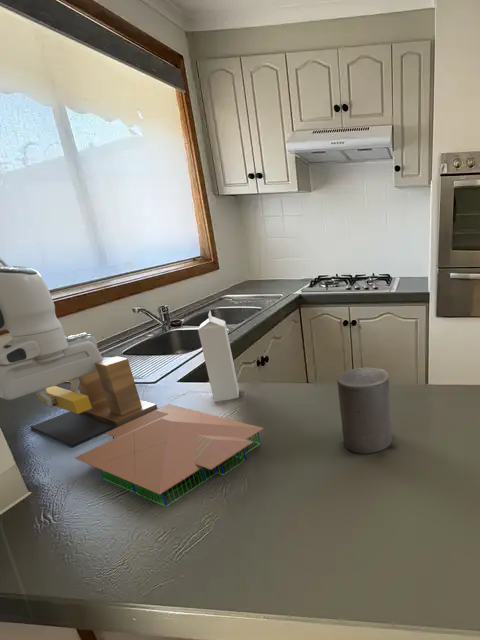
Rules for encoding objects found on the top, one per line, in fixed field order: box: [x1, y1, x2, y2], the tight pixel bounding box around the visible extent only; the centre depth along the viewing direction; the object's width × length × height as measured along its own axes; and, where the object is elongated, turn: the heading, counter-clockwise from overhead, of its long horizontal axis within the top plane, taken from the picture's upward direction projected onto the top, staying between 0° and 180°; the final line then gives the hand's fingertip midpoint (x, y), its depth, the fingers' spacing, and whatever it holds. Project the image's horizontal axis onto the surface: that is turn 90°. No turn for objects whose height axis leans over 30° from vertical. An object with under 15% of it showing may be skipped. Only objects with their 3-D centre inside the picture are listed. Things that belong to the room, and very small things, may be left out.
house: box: [74, 403, 265, 508], centre depth 81 cm, size 23×33×8 cm
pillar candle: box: [336, 367, 393, 455], centre depth 80 cm, size 10×10×15 cm
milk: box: [197, 310, 240, 403], centre depth 105 cm, size 6×6×22 cm
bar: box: [37, 385, 92, 414], centre depth 95 cm, size 18×3×3 cm, turn 59°
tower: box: [78, 355, 159, 428], centre depth 103 cm, size 22×10×14 cm, turn 59°
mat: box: [29, 411, 116, 448], centre depth 97 cm, size 20×9×1 cm, turn 59°
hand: (63, 401), depth 95 cm, fingers closed on bar, 3 cm apart
